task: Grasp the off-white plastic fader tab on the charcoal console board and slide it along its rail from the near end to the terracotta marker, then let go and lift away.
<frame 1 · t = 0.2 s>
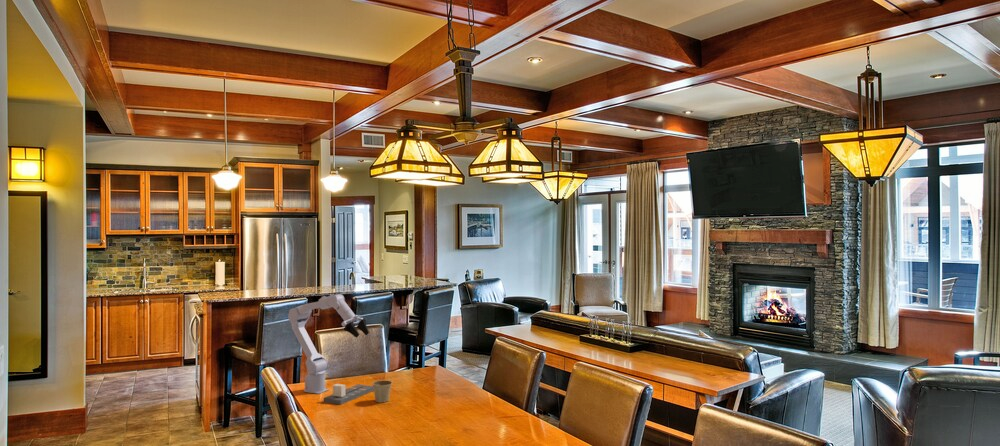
hand: (362, 334, 276), 31 cm above the table, tool tilted 45°, fingers open, 7 cm apart
flower pot: (382, 401, 272), on the table
fader: (339, 390, 272), point 5 cm above the table, slide at 0.0 cm
console: (349, 396, 280), on the table
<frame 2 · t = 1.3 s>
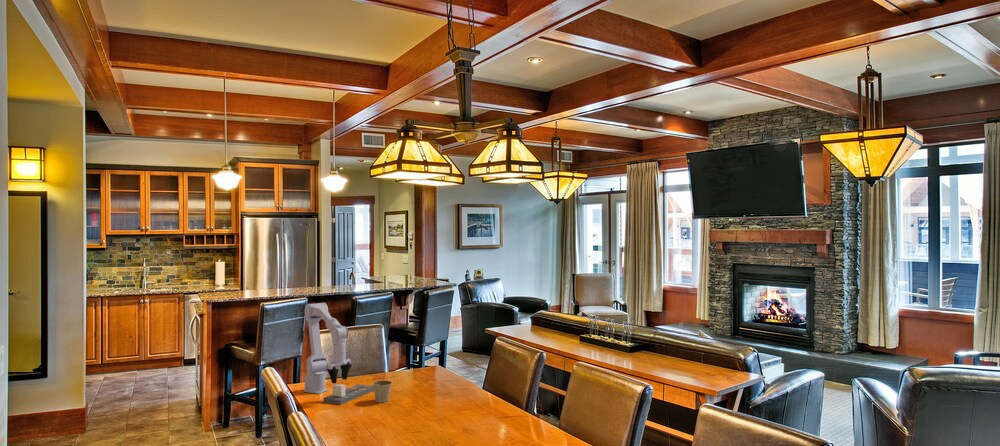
hand: (339, 381, 272), 9 cm above the table, tool pointing down, fingers open, 7 cm apart
nothing on the table moved.
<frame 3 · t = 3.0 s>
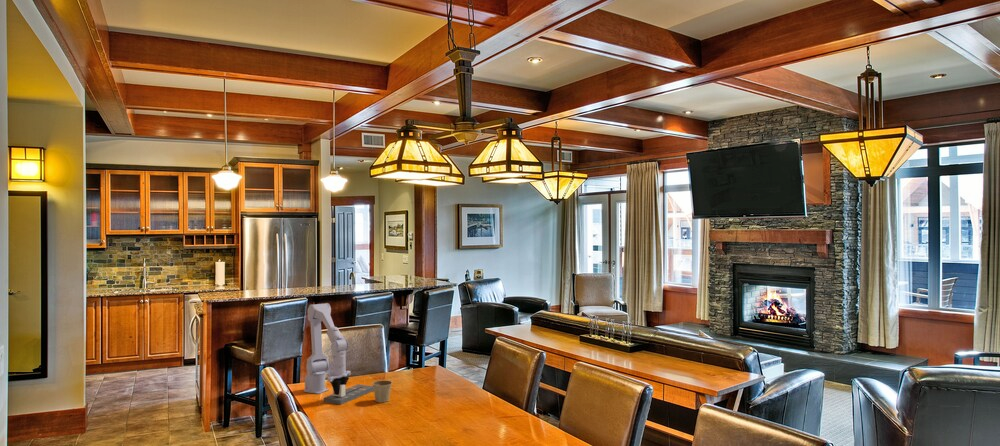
hand: (339, 393, 272), 3 cm above the table, tool pointing down, fingers closed on fader, 3 cm apart
fader: (339, 390, 272), point 5 cm above the table, slide at 0.0 cm, touching gripper
everything else where it was.
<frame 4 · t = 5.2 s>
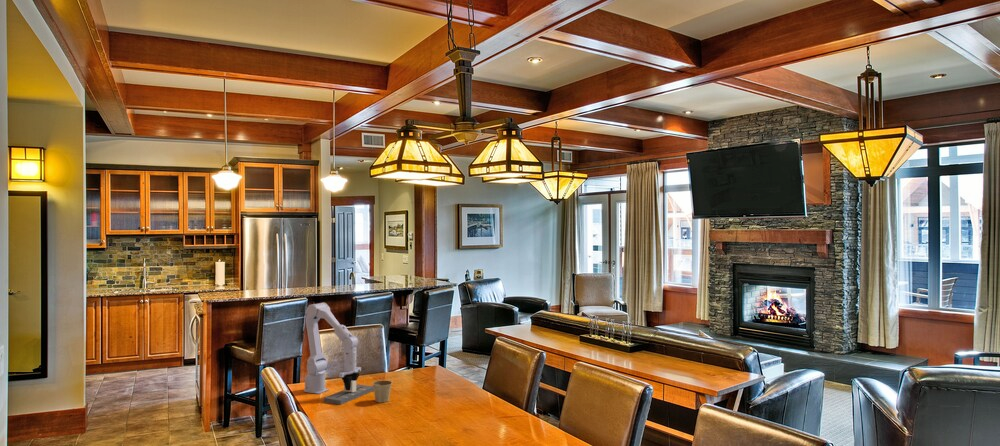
hand: (350, 389, 280), 3 cm above the table, tool pointing down, fingers closed on fader, 3 cm apart
fader: (350, 385, 280), point 5 cm above the table, slide at 8.2 cm, touching gripper
everything else where it was.
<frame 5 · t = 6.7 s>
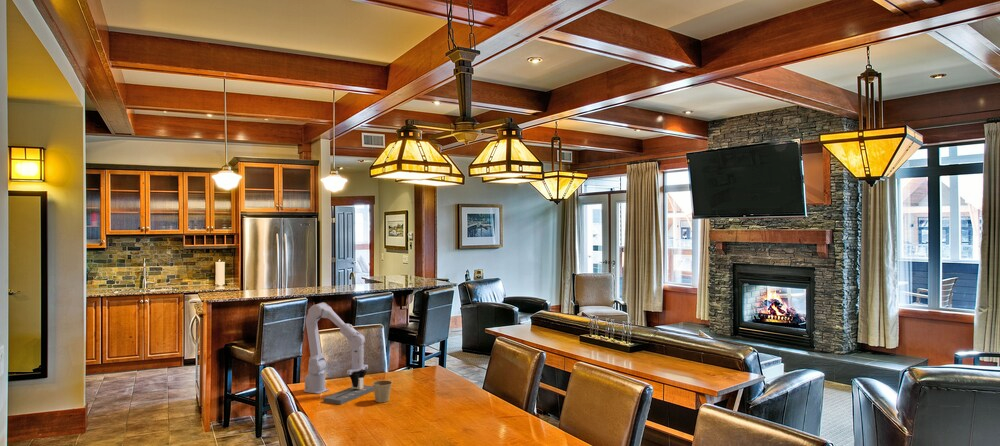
hand: (357, 386, 285), 3 cm above the table, tool pointing down, fingers closed on fader, 3 cm apart
fader: (357, 383, 285), point 5 cm above the table, slide at 14.0 cm, touching gripper
everything else where it was.
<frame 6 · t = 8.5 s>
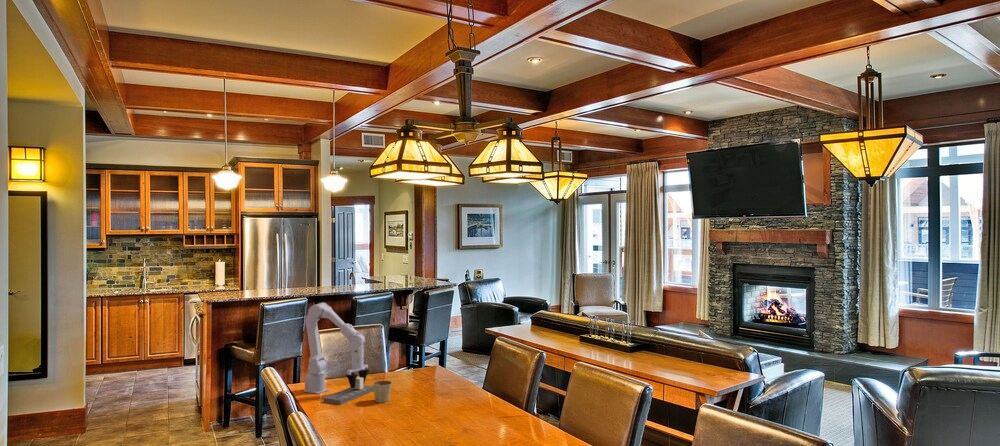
hand: (357, 386, 285), 3 cm above the table, tool pointing down, fingers open, 7 cm apart
fader: (357, 383, 285), point 5 cm above the table, slide at 14.0 cm
everything else where it was.
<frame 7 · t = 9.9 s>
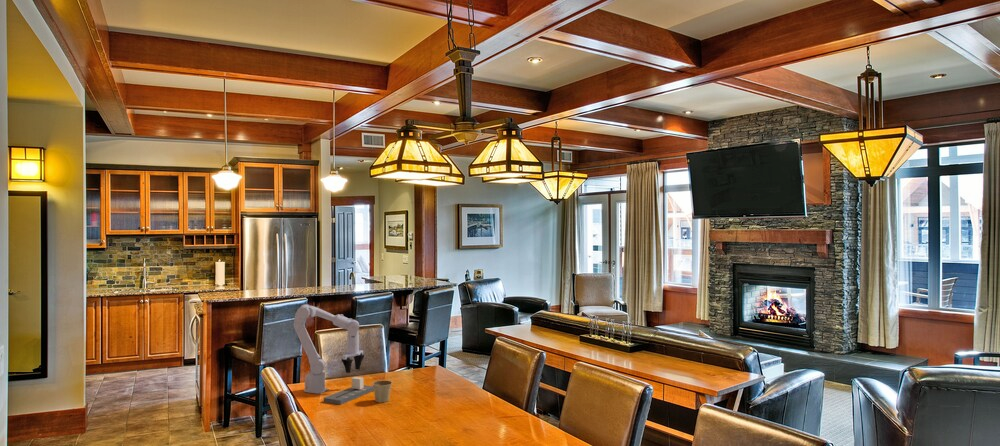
hand: (352, 370, 291), 9 cm above the table, tool pointing down, fingers open, 7 cm apart
nothing on the table moved.
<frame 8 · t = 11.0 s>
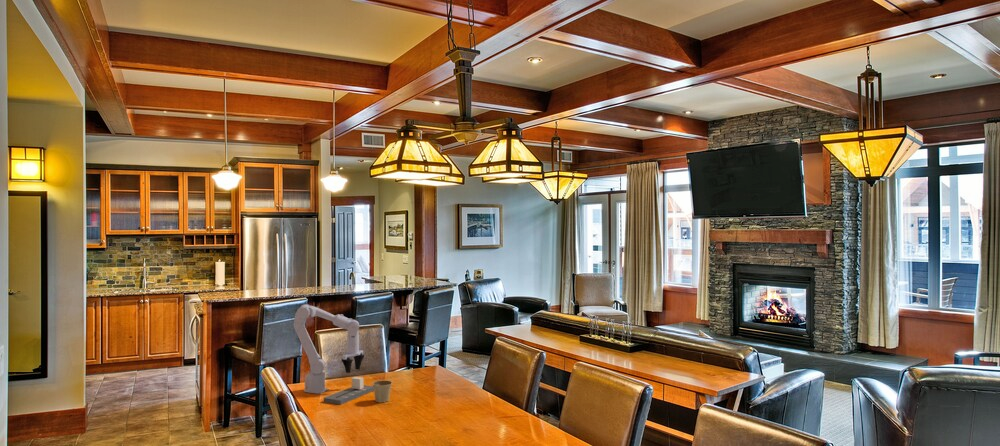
hand: (352, 370, 291), 9 cm above the table, tool pointing down, fingers open, 7 cm apart
nothing on the table moved.
at the end: fader slide at 14.0 cm; the gripper is holding nothing; flower pot moved 0.2 cm from its start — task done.
